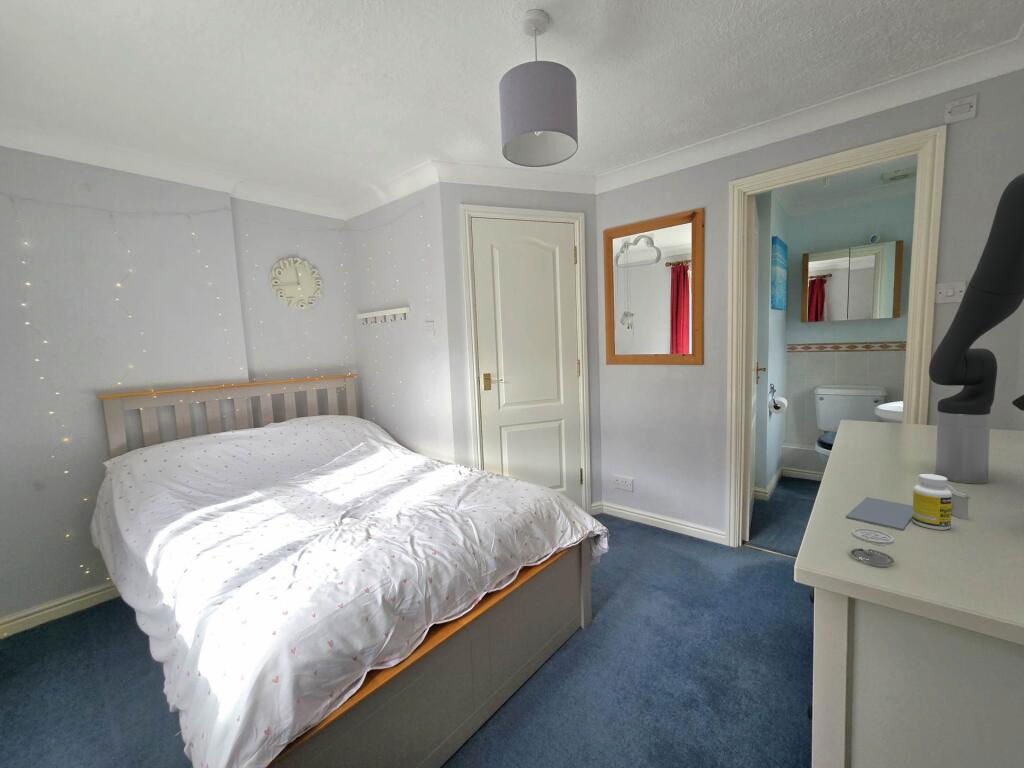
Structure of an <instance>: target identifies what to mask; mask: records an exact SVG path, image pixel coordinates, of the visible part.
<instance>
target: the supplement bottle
mask: <svg viewBox="0 0 1024 768" xmlns="http://www.w3.org/2000/svg"><path fill="white" fill-rule="evenodd" d="M948 481H949V480H948V479H947V478H946V477H943V476H939V475H936V474H932V473H921V474H919V475H918V483H920V484H916V485H914V487H913V495H912V497H913V499H912V506H913V517H912V521H913V523H914V524H916V525H918V526H920V527H924V528H927V529H931V530H938V531H944V530H949V529H950V528H951V523H952V515H951V507H952V493H951V491H950V490H949V489H947V488H946V486H947V485H949V484H948Z"/></svg>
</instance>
